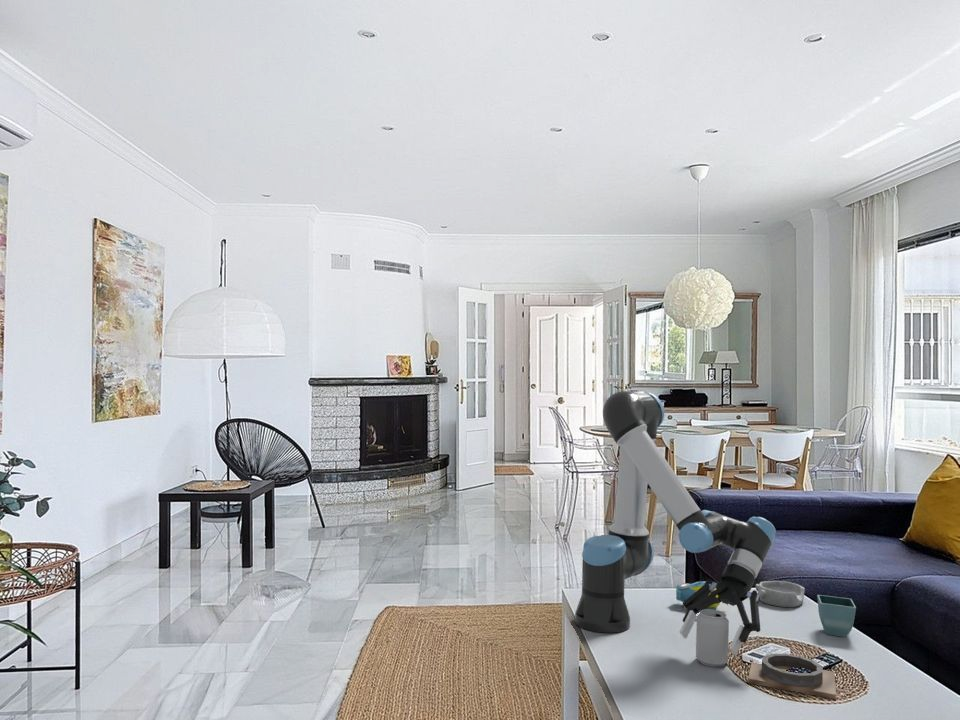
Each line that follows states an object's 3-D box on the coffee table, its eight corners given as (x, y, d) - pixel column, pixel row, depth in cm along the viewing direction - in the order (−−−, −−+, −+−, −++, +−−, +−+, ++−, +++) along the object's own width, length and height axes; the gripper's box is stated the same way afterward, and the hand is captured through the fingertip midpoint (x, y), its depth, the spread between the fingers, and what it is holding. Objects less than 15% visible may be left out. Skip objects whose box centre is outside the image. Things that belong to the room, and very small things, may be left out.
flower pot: (851, 630, 206) (851, 598, 206) (855, 641, 198) (856, 607, 198) (816, 626, 209) (817, 594, 209) (819, 636, 200) (820, 603, 201)
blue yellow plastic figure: (726, 596, 207) (671, 590, 213) (726, 627, 207) (671, 621, 212) (731, 572, 233) (681, 567, 239) (731, 600, 233) (681, 594, 239)
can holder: (747, 682, 168) (748, 667, 168) (752, 661, 181) (752, 647, 181) (835, 699, 161) (836, 683, 161) (834, 676, 174) (834, 661, 174)
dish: (804, 599, 235) (805, 583, 235) (804, 611, 222) (804, 594, 222) (756, 592, 241) (756, 577, 241) (753, 604, 228) (753, 588, 228)
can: (729, 669, 176) (730, 618, 176) (697, 666, 177) (698, 615, 178) (725, 657, 183) (727, 609, 183) (694, 654, 185) (695, 606, 185)
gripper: (793, 592, 181) (760, 668, 171) (703, 569, 200) (669, 637, 190) (783, 573, 178) (749, 650, 168) (692, 552, 197) (657, 620, 187)
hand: (706, 643), depth 179 cm, fingers open, 13 cm apart
